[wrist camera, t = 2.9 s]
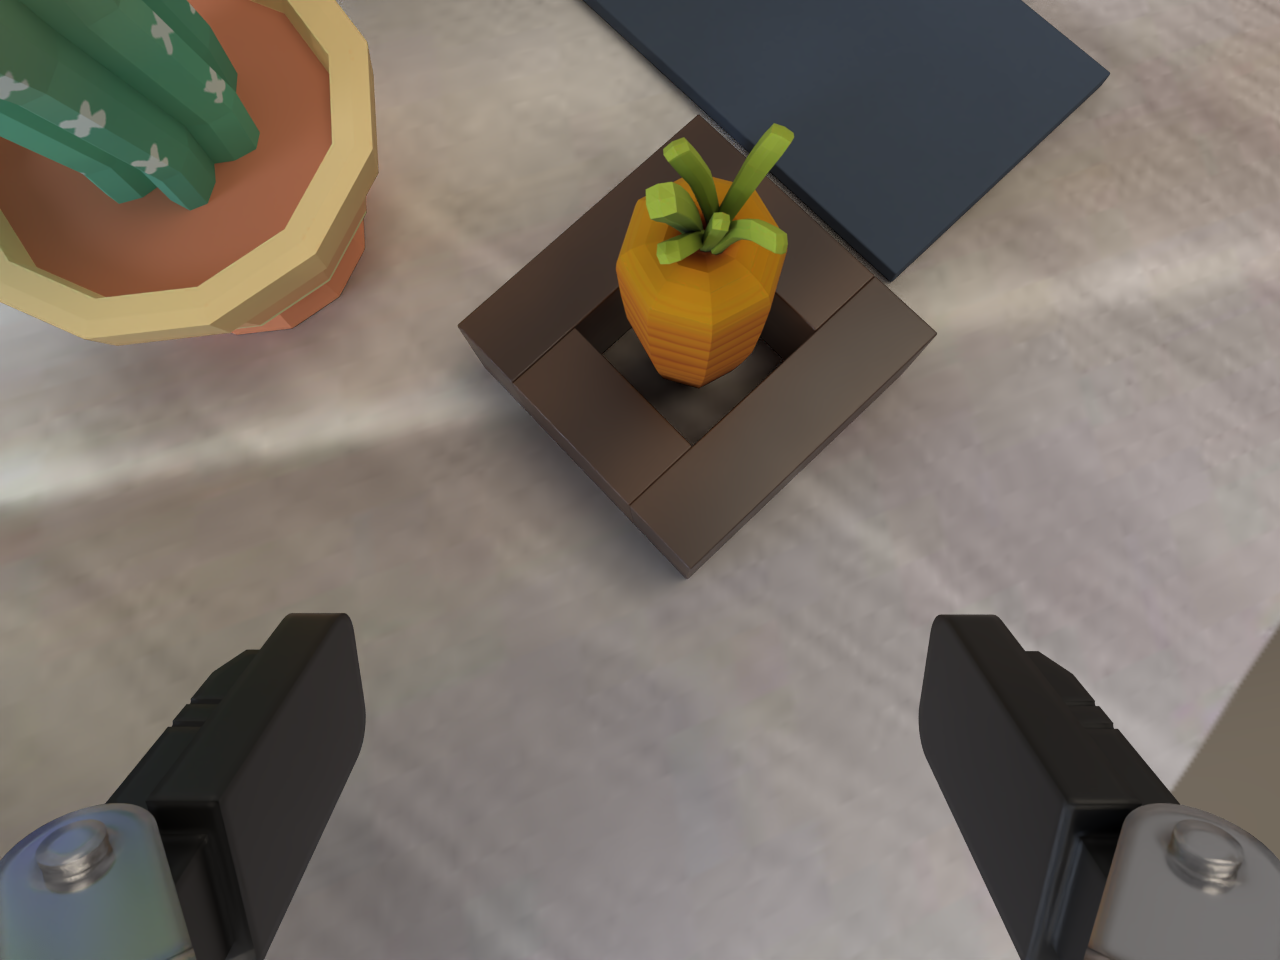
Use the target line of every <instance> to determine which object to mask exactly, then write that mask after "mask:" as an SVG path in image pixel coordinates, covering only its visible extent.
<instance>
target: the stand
mask: <svg viewBox="0 0 1280 960" xmlns="http://www.w3.org/2000/svg"><path fill="white" fill-rule="evenodd" d="M683 137H684V138H685V139H686V140H687V141H688V142H689V143H690V144H691V145H692V146H693V147H694V148H695V149H696V151H697V152H698V153H699V155H700V156H701V157H702V159H703V160H704V162H705V163H706V165H707V166H708V168H709V169H710V171H711V174H712V177H715V178H719V179H723V180H727V181H731V182H733V181H734V179H735V178H736V176H737V174H738V172H739V171H740V169H741V167H742V165H743V163H744V162H745V160H746V157H745V156H744V155H742V154H741V153H740V152H739V151H738V150H737V149H736V148H735V147H734V146H733V145H732V144H730V143H729V142H728V141H727V140H726V139H725V138H724V137H723V136H722V135H721V134H720V133H719V132H717V131H716V130H715V129H714V128H713V127H712V126H711V125H710V124H709V123H708V122H707V121H705V120H704V119H703V118H702V117H701V116H700V115H697V116H696V117H695V118H694V119H693V120H691V121H690V122H689V123H688V124H687V125H686V126H685V127H683V128H682V129H681V130H680V131H679V132H678V133H677V134H675V135H674V136H673V137H672V138H671V139H670V140H669V141H667V142H666V143H665V144H664V145H663V146H662V147H661V148H659V149H658V150H657V151H656V152H655V153H654V154H653V155H651V156H650V157H649V158H648V159H647V160H646V161H645V162H643V163H642V164H641V165H640V166H639V167H638V168H637V169H635V170H634V171H633V172H632V173H631V174H630V175H629V176H627V177H626V178H625V179H624V180H623V181H622V182H621V183H619V184H618V185H617V186H616V187H615V188H614V189H613V190H611V191H610V192H609V193H608V194H607V195H606V196H605V197H603V198H602V199H601V200H600V201H599V202H598V203H597V204H595V205H594V206H593V207H592V208H591V209H590V210H589V211H587V212H586V213H585V214H584V215H583V216H582V217H581V218H579V219H578V220H577V221H576V222H575V223H574V224H573V225H571V226H570V227H569V228H568V229H567V230H566V231H565V232H563V233H562V234H561V235H560V236H559V237H558V238H557V239H555V240H554V241H553V242H552V243H551V244H550V245H549V246H547V247H546V248H545V249H544V250H543V251H542V252H541V253H539V254H538V255H537V256H536V257H535V258H534V259H533V260H531V261H530V262H529V263H528V264H527V265H526V266H525V267H523V268H522V269H521V270H520V271H519V272H518V273H517V274H515V275H514V276H513V277H512V278H511V279H510V280H509V281H507V282H506V283H505V284H504V285H503V286H502V287H501V288H499V289H498V290H497V291H496V292H495V293H494V294H493V295H491V296H490V297H489V298H488V299H487V300H486V301H485V302H483V303H482V304H481V305H480V306H479V307H478V308H477V309H475V310H474V311H473V312H472V313H471V314H470V315H469V316H467V317H466V318H465V319H464V320H463V321H462V322H461V323H459V324H458V328H459V329H460V331H461V332H462V334H463V335H464V337H465V338H466V340H467V341H468V343H469V344H470V346H471V347H472V349H473V350H474V352H475V353H476V355H477V356H478V358H479V359H480V361H481V362H482V364H483V365H484V367H485V368H486V369H487V370H488V371H489V372H490V373H491V374H492V375H493V376H494V377H495V378H496V379H497V380H498V381H499V383H500V384H501V385H502V386H503V387H504V388H505V389H506V390H507V391H508V392H509V393H510V394H511V395H512V396H513V397H514V398H515V399H516V400H517V401H518V402H519V404H520V405H521V406H522V407H523V408H524V409H525V410H526V411H527V412H528V413H529V414H530V415H531V416H532V417H533V418H534V419H535V420H536V421H537V423H538V424H539V425H540V426H541V427H542V428H543V429H544V430H545V431H546V432H547V433H548V434H549V435H550V436H551V437H552V438H553V439H554V440H555V441H556V442H557V444H558V445H559V446H560V447H561V448H562V449H563V450H564V451H565V452H566V453H567V454H568V455H569V456H570V457H571V458H572V459H573V460H574V461H575V462H576V464H577V465H578V466H579V467H580V468H581V469H582V470H583V471H584V472H585V473H586V474H587V475H588V476H589V477H590V478H591V479H592V480H593V481H594V482H595V483H596V485H597V486H598V487H599V488H600V489H601V490H602V491H603V492H604V493H605V494H606V495H607V496H608V497H609V498H610V499H611V500H612V501H613V502H614V503H615V505H616V506H617V507H618V508H619V509H620V510H621V511H622V512H623V513H624V514H625V515H626V516H627V517H628V518H629V519H630V520H631V521H632V522H633V523H634V524H635V526H636V527H637V528H638V529H639V530H640V531H641V532H642V533H643V534H644V535H645V536H646V537H647V538H648V539H649V540H650V541H651V542H652V543H653V544H654V545H655V547H656V548H657V549H658V550H659V551H660V552H661V553H662V554H663V555H664V556H665V557H666V558H667V559H668V560H669V561H670V562H671V563H672V564H673V565H674V567H675V568H676V569H677V570H678V571H679V572H680V573H681V574H682V575H683V576H684V577H685V578H686V579H688V578H689V577H690V576H691V575H692V574H693V573H695V572H696V571H697V570H698V569H699V568H700V567H701V566H702V565H703V564H704V563H705V562H706V561H707V560H708V559H709V558H710V557H711V556H712V555H713V554H714V553H715V552H716V551H718V550H719V549H720V548H721V547H722V546H723V545H724V544H725V543H726V542H727V541H728V540H729V539H730V538H731V537H732V536H733V535H734V534H735V533H736V532H737V531H738V530H739V529H741V528H742V527H743V526H744V525H745V524H746V523H747V522H748V521H749V520H750V519H751V518H752V517H753V516H754V515H755V514H756V513H757V512H758V511H759V510H760V509H761V508H762V507H764V506H765V505H766V504H767V503H768V502H769V501H770V500H771V499H772V498H773V497H774V496H775V495H776V494H777V493H778V492H779V491H780V490H781V489H782V488H783V487H784V486H785V485H787V484H788V483H789V482H790V481H791V480H792V479H793V478H794V477H795V476H796V475H797V474H798V473H799V472H800V471H801V470H802V469H803V468H804V467H805V466H806V465H807V464H808V463H809V462H811V461H812V460H813V459H814V458H815V457H816V456H817V455H818V454H819V453H820V452H821V451H822V450H823V449H824V448H825V447H826V446H827V445H828V444H829V443H830V442H831V441H832V440H834V439H835V438H836V437H837V436H838V435H839V434H840V433H841V432H842V431H843V430H844V429H845V428H846V427H847V426H848V425H849V424H850V423H851V422H852V421H853V420H854V419H855V418H857V417H858V416H859V415H860V414H861V413H862V412H863V411H864V410H865V409H866V408H867V407H868V406H869V405H870V404H871V403H872V402H873V401H874V400H875V399H876V398H877V397H878V396H880V395H881V394H882V393H883V392H884V391H885V390H886V389H887V388H888V387H889V386H890V385H891V384H892V383H893V382H894V381H895V380H896V379H897V378H898V377H899V376H900V375H901V374H902V373H903V372H904V371H905V370H906V369H907V368H908V367H909V365H910V364H911V363H912V362H913V361H914V360H915V359H916V357H917V356H918V355H919V354H920V353H921V352H922V351H923V350H924V348H925V347H926V346H927V345H928V344H929V343H930V342H931V341H932V339H933V338H934V337H935V336H936V335H937V332H935V331H934V330H933V329H932V328H931V327H930V326H929V325H928V324H927V323H926V322H925V321H924V320H922V319H921V318H920V317H919V316H918V315H917V314H916V313H915V312H914V311H913V310H912V309H910V308H909V307H908V306H907V305H906V304H905V303H904V302H903V301H902V300H901V299H900V298H898V297H897V296H896V295H895V294H894V293H893V292H892V291H891V290H890V289H889V288H888V287H886V286H885V285H884V284H883V283H882V282H881V281H880V280H879V279H878V278H877V277H874V275H873V274H872V273H871V272H870V271H869V270H868V269H867V268H866V267H865V266H864V265H862V264H861V263H860V262H859V261H858V260H857V259H856V258H855V257H854V256H853V255H852V254H850V253H849V252H848V251H847V250H846V249H845V248H844V247H843V246H842V245H841V244H840V243H839V242H837V241H836V240H835V239H834V238H833V237H832V236H831V235H830V234H829V233H828V232H827V231H825V230H824V229H823V228H822V227H821V226H820V225H819V224H818V223H817V222H816V221H815V220H813V219H812V218H811V217H810V216H809V215H808V214H807V213H806V212H805V211H804V210H803V209H802V208H800V207H799V206H798V205H797V204H796V203H795V202H794V201H793V200H792V199H791V198H790V197H788V196H787V195H786V194H785V193H784V192H783V191H782V190H781V189H780V188H779V187H778V186H776V185H775V184H774V183H773V182H772V181H771V180H770V179H769V178H768V177H767V176H765V177H764V179H763V180H762V181H761V183H760V184H759V185H758V187H757V188H756V189H755V190H756V192H757V193H758V195H759V197H760V198H761V200H762V201H763V203H764V205H765V206H766V208H767V209H768V211H769V213H770V214H771V216H772V217H773V219H774V221H775V222H776V224H777V225H778V227H779V229H781V230H782V231H784V232H785V233H787V240H788V247H787V253H786V256H785V260H784V263H783V267H782V270H781V274H780V277H779V281H778V284H777V288H776V291H775V295H774V298H773V301H772V305H771V308H770V312H769V314H768V317H767V319H766V322H765V324H764V327H763V330H762V332H761V335H760V337H761V338H762V339H763V340H764V341H765V342H766V343H767V344H768V345H770V346H771V347H772V348H773V349H774V350H775V351H776V352H777V353H778V354H779V355H780V356H781V357H782V358H783V359H784V360H785V361H784V362H782V363H781V364H780V365H779V366H778V367H777V368H776V369H775V370H774V371H773V372H772V373H771V374H770V375H769V376H767V377H766V378H765V379H764V380H763V381H762V382H761V383H760V384H759V385H758V386H757V387H756V388H755V389H754V390H752V391H751V392H750V393H749V394H748V395H747V396H746V397H745V398H744V399H743V400H742V401H741V402H740V403H739V404H737V405H736V406H735V407H734V408H733V409H732V410H731V411H730V412H729V413H728V414H727V415H726V416H725V417H724V418H722V419H721V420H720V421H719V422H718V423H717V424H716V425H715V426H714V427H713V428H712V429H711V430H710V431H709V432H708V433H706V434H705V435H704V436H703V437H702V438H701V439H700V440H699V441H698V442H697V443H696V444H695V445H694V446H693V447H692V446H691V445H690V444H689V442H688V441H687V440H686V439H685V438H684V437H683V436H682V435H681V434H680V433H679V432H678V431H677V430H676V429H675V428H674V427H673V426H672V425H671V424H670V423H669V422H668V421H667V420H666V419H665V418H664V417H663V416H662V415H661V414H660V413H659V412H658V411H657V410H656V409H655V408H654V407H653V406H652V405H651V404H650V403H649V402H648V401H647V400H646V399H645V398H644V397H643V396H642V395H641V394H640V393H639V392H638V391H637V390H636V389H635V388H634V387H633V386H632V385H631V384H630V383H629V382H628V381H627V380H626V379H625V378H624V377H623V376H622V375H621V374H620V373H619V372H618V371H617V370H616V369H615V368H614V367H613V366H612V365H611V364H610V362H609V361H608V360H607V359H606V358H605V357H604V356H603V355H602V353H603V352H604V351H605V350H606V349H608V348H609V347H610V346H611V345H612V344H613V343H614V342H615V341H616V340H618V339H619V338H620V337H621V336H622V335H623V334H624V333H625V332H626V331H628V330H629V329H630V328H631V327H632V326H631V324H630V322H629V321H628V319H627V316H626V312H625V308H624V305H623V301H622V297H621V293H620V288H619V283H618V278H617V272H616V263H617V260H618V257H619V254H620V250H621V247H622V244H623V241H624V238H625V235H626V232H627V229H628V226H629V223H630V220H631V217H632V214H633V211H634V208H635V205H636V203H637V201H638V200H639V199H641V198H643V197H645V196H646V189H648V188H650V187H652V186H654V185H656V184H660V183H667V182H674V181H676V180H678V179H680V178H682V177H681V176H680V175H679V174H678V172H677V171H676V170H675V169H674V168H673V167H672V166H671V164H670V163H669V162H668V161H667V159H666V158H665V156H664V154H663V149H664V148H665V147H666V146H667V145H669V144H670V143H671V142H672V141H675V140H678V139H680V138H683Z"/></svg>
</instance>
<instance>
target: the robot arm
mask: <svg viewBox="0 0 1280 960" xmlns="http://www.w3.org/2000/svg"><path fill="white" fill-rule="evenodd" d="M365 718H366V714H365V703H364V696H363V689H362V683H361V676H360V669H359V662H358V656H357V649H356V642H355V636H354V629H353V625H352V622H351V619H350V617H349V616H348V615H347V614H345V613H291V614H288V615H287V616H286V617H285V618H284V619H283V620H282V621H281V623H280V624H279V625H278V627H277V628H276V629H275V631H274V632H273V633H272V635H271V636H270V637H269V638H268V640H267V641H266V642H265V644H264V645H263V646H262V648H261V649H260V650H245V651H244V652H242V653H241V654H239V655H238V656H236V657H235V658H233V659H232V660H230V661H229V662H227V663H226V664H224V665H223V666H221V667H220V668H218V669H217V670H215V671H214V672H212V674H211V675H210V676H209V677H208V679H207V680H206V681H205V682H204V683H203V685H202V686H201V687H200V688H199V690H198V691H197V692H196V693H195V694H194V696H193V697H192V698H191V703H190V704H186V706H185V707H184V708H183V709H182V710H181V712H180V713H179V714H178V715H177V717H176V718H175V719H174V720H173V725H172V727H168V728H167V729H166V730H165V731H164V732H163V734H162V735H161V736H160V737H159V739H158V740H157V741H156V742H155V743H154V745H153V746H152V747H151V748H150V750H149V751H148V752H147V753H146V754H145V756H144V757H143V758H142V759H141V761H140V762H139V763H138V764H137V765H136V767H135V768H134V769H133V770H132V772H131V773H130V774H129V775H128V776H127V778H126V779H125V780H124V781H123V783H122V784H121V785H120V786H119V787H118V789H117V790H116V791H115V792H114V794H113V795H112V796H111V797H110V798H109V800H108V801H107V802H106V803H105V804H102V805H96V806H92V807H87V808H83V809H80V810H77V811H74V812H71V813H69V814H66V815H64V816H62V817H59V818H57V819H55V820H53V821H51V822H49V823H47V824H45V825H43V826H41V827H40V828H38V829H37V830H35V831H34V832H32V833H30V834H29V835H28V836H26V837H25V838H24V839H22V840H21V841H20V842H18V843H17V844H16V845H15V846H14V847H13V848H12V849H11V850H10V851H9V852H8V853H7V854H6V855H5V856H4V857H3V858H2V860H1V861H0V960H264V958H265V956H266V954H267V952H268V949H269V947H270V945H271V943H272V941H273V939H274V936H275V934H276V932H277V930H278V928H279V926H280V924H281V921H282V919H283V917H284V915H285V913H286V911H287V908H288V906H289V904H290V902H291V900H292V898H293V896H294V893H295V891H296V889H297V887H298V885H299V883H300V880H301V878H302V876H303V874H304V872H305V870H306V868H307V865H308V863H309V861H310V859H311V857H312V855H313V852H314V850H315V848H316V846H317V844H318V842H319V840H320V837H321V835H322V833H323V831H324V829H325V827H326V824H327V822H328V820H329V818H330V816H331V814H332V812H333V809H334V807H335V805H336V803H337V801H338V799H339V796H340V794H341V792H342V790H343V788H344V786H345V784H346V781H347V779H348V777H349V775H350V773H351V771H352V769H353V766H354V764H355V762H356V760H357V758H358V755H359V753H360V750H361V747H362V743H363V738H364V732H365ZM919 732H920V739H921V744H922V748H923V751H924V754H925V756H926V759H927V761H928V763H929V765H930V767H931V769H932V772H933V774H934V776H935V778H936V780H937V782H938V784H939V787H940V789H941V791H942V793H943V795H944V797H945V799H946V801H947V804H948V806H949V808H950V810H951V812H952V814H953V816H954V818H955V821H956V823H957V825H958V827H959V829H960V831H961V833H962V835H963V838H964V840H965V842H966V844H967V846H968V848H969V850H970V852H971V855H972V857H973V859H974V861H975V863H976V865H977V867H978V869H979V872H980V874H981V876H982V878H983V880H984V882H985V884H986V886H987V889H988V891H989V893H990V895H991V897H992V899H993V901H994V903H995V906H996V908H997V910H998V912H999V914H1000V916H1001V918H1002V921H1003V923H1004V925H1005V927H1006V929H1007V931H1008V933H1009V935H1010V938H1011V940H1012V942H1013V944H1014V946H1015V948H1016V950H1017V952H1018V955H1019V957H1020V959H1021V960H1280V861H1279V860H1278V858H1277V857H1276V856H1275V855H1274V854H1273V853H1272V852H1271V851H1270V850H1269V849H1268V848H1267V847H1266V846H1265V845H1264V844H1263V843H1262V842H1260V841H1259V840H1258V839H1256V838H1255V837H1254V836H1252V835H1251V834H1250V833H1248V832H1246V831H1245V830H1243V829H1242V828H1240V827H1238V826H1237V825H1235V824H1233V823H1231V822H1229V821H1227V820H1225V819H1223V818H1221V817H1218V816H1216V815H1214V814H1211V813H1209V812H1206V811H1203V810H1200V809H1197V808H1192V807H1188V806H1184V805H1180V804H1179V802H1178V801H1177V800H1176V799H1175V797H1174V796H1173V795H1172V794H1171V793H1170V791H1169V790H1168V789H1167V788H1166V787H1165V785H1164V784H1163V783H1162V782H1161V781H1160V779H1159V778H1158V777H1157V776H1156V774H1155V773H1154V772H1153V771H1152V770H1151V768H1150V767H1149V766H1148V765H1147V764H1146V762H1145V761H1144V760H1143V759H1142V757H1141V756H1140V755H1139V754H1138V753H1137V751H1136V750H1135V749H1134V748H1133V747H1132V745H1131V744H1130V743H1129V742H1128V741H1127V739H1126V738H1125V737H1124V736H1123V734H1122V733H1121V732H1120V731H1119V730H1118V729H1114V727H1113V722H1112V721H1111V720H1110V719H1109V717H1108V716H1107V715H1106V714H1105V713H1104V711H1103V710H1102V709H1101V708H1100V707H1099V706H1095V701H1094V699H1093V698H1092V697H1091V696H1090V694H1089V693H1088V692H1087V691H1086V690H1085V688H1084V687H1083V686H1082V685H1081V684H1080V682H1079V681H1078V680H1077V679H1076V677H1075V676H1074V675H1073V674H1072V673H1070V672H1069V671H1067V670H1066V669H1064V668H1063V667H1061V666H1060V665H1058V664H1057V663H1055V662H1054V661H1052V660H1051V659H1049V658H1048V657H1046V656H1045V655H1043V654H1042V653H1040V652H1039V651H1025V650H1024V649H1023V648H1022V646H1021V645H1020V644H1019V643H1018V641H1017V640H1016V639H1015V637H1014V636H1013V635H1012V633H1011V632H1010V631H1009V630H1008V628H1007V627H1006V626H1005V624H1004V623H1003V622H1002V620H1001V619H1000V618H999V617H997V616H996V615H938V616H937V617H936V618H935V620H934V622H933V624H932V628H931V633H930V639H929V646H928V653H927V659H926V666H925V672H924V679H923V686H922V692H921V699H920V705H919Z"/></svg>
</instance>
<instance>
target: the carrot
mask: <svg viewBox="0 0 1280 960" xmlns="http://www.w3.org/2000/svg"><path fill="white" fill-rule="evenodd" d="M793 138H794V133H793V132H792V131H790V130H789V129H787V128H786V127H785V126H781V125H778V124H775V123H774V124H773V125H772V126H771V127H770V128H769V129H768V130H767V131H766V132H765V133H764V134H763V136H762V137H761V138H760V140H759V141H758V142H757V144H756V145H755V147H754V148H753V149H752V151H751V152H750V153H749V155H748V156H747V158H746V160H745V162H744V163H743V165H742V167H741V169H740V171H739V172H738V174H737V176H736V178H735V179H734V181H733V182H731V181H727V180H723V179H719V178H715V177H712V174H711V171H710V169H709V168H708V166H707V165H706V163H705V162H704V160H703V159H702V157H701V156H700V155H699V153H698V152H697V151H696V149H695V148H694V147H693V146H692V145H691V144H690V143H689V142H688V141H687V140H686V139H685V138H684V137H683V138H680V139H678V140H675V141H672V142H671V143H670V144H669V145H667V146H666V147H665V148H664V149H663V154H664V156H665V158H666V159H667V161H668V162H669V163H670V164H671V166H672V167H673V168H674V169H675V170H676V171H677V172H678V174H679V175H680V176H681V177H682V178H680V179H678V180H676V181H674V182H667V183H660V184H656V185H654V186H652V187H650V188H648V189H646V196H645V197H643V198H641V199H639V200H638V201H637V203H636V205H635V208H634V211H633V214H632V217H631V220H630V223H629V226H628V229H627V232H626V235H625V238H624V241H623V244H622V247H621V250H620V254H619V257H618V260H617V263H616V272H617V278H618V283H619V288H620V293H621V297H622V301H623V305H624V308H625V312H626V316H627V319H628V321H629V322H630V324H631V326H632V328H633V329H634V331H635V333H636V335H637V336H638V338H639V340H640V342H641V343H642V345H643V347H644V349H645V350H646V352H647V354H648V356H649V358H650V359H651V361H652V363H653V365H654V366H655V368H656V370H657V371H658V373H659V374H660V375H661V376H662V377H663V378H664V379H668V380H671V381H675V382H678V383H682V384H685V385H689V386H693V387H696V388H701V387H702V386H704V385H706V384H708V383H710V382H712V381H714V380H716V379H718V378H720V377H721V376H723V375H725V374H727V373H729V372H731V371H732V370H734V369H735V368H736V367H737V366H739V365H740V364H741V363H742V362H743V361H744V360H745V359H746V358H747V357H748V356H749V355H750V354H751V353H752V351H753V349H754V347H755V345H756V343H757V341H758V339H759V337H760V335H761V332H762V330H763V327H764V324H765V322H766V319H767V317H768V314H769V312H770V308H771V305H772V301H773V298H774V295H775V291H776V288H777V284H778V281H779V277H780V274H781V270H782V267H783V263H784V260H785V256H786V253H787V247H788V240H787V233H785V232H784V231H782V230H781V229H779V227H778V225H777V224H776V222H775V221H774V219H773V217H772V216H771V214H770V213H769V211H768V209H767V208H766V206H765V205H764V203H763V201H762V200H761V198H760V197H759V195H758V193H757V192H756V190H755V189H756V188H757V187H758V185H759V184H760V183H761V181H762V180H763V179H764V177H765V176H766V175H767V173H768V172H769V171H770V169H771V168H772V167H773V166H774V165H775V163H776V162H777V161H778V160H779V158H780V157H781V156H782V155H783V153H784V152H785V151H786V149H787V148H788V146H789V145H790V144H791V142H792V140H793Z"/></svg>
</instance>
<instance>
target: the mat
mask: <svg viewBox="0 0 1280 960" xmlns="http://www.w3.org/2000/svg"><path fill="white" fill-rule="evenodd" d="M584 1H585V2H586V3H587V4H588V5H589V6H590V7H591V8H592V9H593V10H594V11H596V12H597V13H598V14H599V15H600V16H601V17H602V18H603V19H604V20H605V21H606V22H608V23H609V24H610V25H611V26H612V27H613V28H614V29H615V30H616V31H617V32H618V33H620V34H621V35H622V36H623V37H624V38H625V39H626V40H627V41H628V42H629V43H630V44H632V45H633V46H634V47H635V48H636V49H637V50H638V51H639V52H640V53H641V54H642V55H644V56H645V57H646V58H647V59H648V60H649V61H650V62H651V63H652V64H653V65H654V66H656V67H657V68H658V69H659V70H660V71H661V72H662V73H663V74H664V75H665V76H666V77H668V78H669V79H670V80H671V81H672V82H673V83H674V84H675V85H676V86H677V87H678V88H680V89H681V90H682V91H683V92H684V93H685V94H686V95H687V96H688V97H689V98H690V99H692V100H693V101H694V102H695V103H696V104H697V105H698V106H699V107H700V108H701V109H702V110H704V111H705V112H706V113H707V114H708V115H709V116H710V117H711V118H712V119H713V120H714V121H716V122H717V123H718V124H719V125H720V126H721V127H722V128H723V129H724V130H725V131H726V132H728V133H729V134H730V135H731V136H732V137H733V138H734V139H735V140H736V141H737V142H738V143H740V144H741V145H742V146H743V147H744V148H745V149H746V150H747V151H748V152H749V153H750V152H751V151H752V149H753V148H754V147H755V145H756V144H757V142H758V141H759V140H760V138H761V137H762V136H763V134H764V133H765V132H766V131H767V130H768V129H769V128H770V127H771V126H772V125H773V124H774V123H775V124H778V125H781V126H785V127H786V128H787V129H789V130H790V131H792V132H793V133H794V138H793V140H792V142H791V144H790V145H789V146H788V148H787V149H786V151H785V152H784V153H783V155H782V156H781V157H780V158H779V160H778V161H777V162H776V163H775V165H774V166H773V167H772V168H771V169H770V172H771V173H772V174H773V175H774V176H776V177H777V178H778V179H779V180H780V181H781V182H782V183H783V184H784V185H785V186H786V187H788V188H789V189H790V190H791V191H792V192H793V193H794V194H795V195H796V196H797V197H798V198H800V199H801V200H802V201H803V202H804V203H805V204H806V205H807V206H808V207H809V208H810V209H812V210H813V211H814V212H815V213H816V214H817V215H818V216H819V217H820V218H821V219H822V220H824V221H825V222H826V223H827V224H828V225H829V226H830V227H831V228H832V229H833V230H834V231H836V232H837V233H838V234H839V235H840V236H841V237H842V238H843V239H844V240H845V241H846V242H848V243H849V244H850V245H851V246H852V247H853V248H854V249H855V250H856V251H857V252H858V253H860V254H861V255H862V256H863V257H864V258H865V259H866V260H867V261H868V262H869V263H870V264H872V265H873V266H874V267H875V268H876V269H877V270H878V271H879V272H880V273H881V274H882V275H884V276H885V277H886V278H887V279H888V280H889V281H890V282H892V281H893V280H894V279H895V278H896V277H897V276H899V275H900V274H901V273H902V272H903V271H904V270H905V269H906V268H907V267H908V266H909V265H910V264H911V263H912V262H913V261H915V260H916V259H917V258H918V257H919V256H920V255H921V254H922V253H923V252H924V251H925V250H926V249H927V248H928V247H929V246H931V245H932V244H933V243H934V242H935V241H936V240H937V239H938V238H939V237H940V236H941V235H942V234H943V233H944V232H945V231H947V230H948V229H949V228H950V227H951V226H952V225H953V224H954V223H955V222H956V221H957V220H958V219H959V218H960V217H961V216H963V215H964V214H965V213H966V212H967V211H968V210H969V209H970V208H971V207H972V206H973V205H974V204H975V203H976V202H977V201H979V200H980V199H981V198H982V197H983V196H984V195H985V194H986V193H987V192H988V191H989V190H990V189H991V188H992V187H993V186H995V185H996V184H997V183H998V182H999V181H1000V180H1001V179H1002V178H1003V177H1004V176H1005V175H1006V174H1007V173H1008V172H1009V171H1011V170H1012V169H1013V168H1014V167H1015V166H1016V165H1017V164H1018V163H1019V162H1020V161H1021V160H1022V159H1023V158H1024V157H1025V156H1026V155H1028V154H1029V153H1030V152H1031V151H1032V150H1033V149H1034V148H1035V147H1036V146H1037V145H1038V144H1039V143H1040V142H1041V141H1042V140H1044V139H1045V138H1046V137H1047V136H1048V135H1049V134H1050V133H1051V132H1052V131H1053V130H1054V129H1055V128H1056V127H1057V126H1058V125H1060V124H1061V123H1062V122H1063V121H1064V120H1065V119H1066V118H1067V117H1068V116H1069V115H1070V114H1071V113H1072V112H1073V111H1074V110H1076V109H1077V108H1078V107H1079V106H1080V105H1081V104H1082V103H1083V102H1084V101H1085V100H1086V99H1087V98H1088V97H1089V96H1090V95H1092V94H1093V93H1094V92H1095V91H1096V90H1097V89H1098V88H1099V87H1100V86H1101V85H1102V84H1103V83H1104V81H1105V80H1106V79H1107V77H1108V76H1109V75H1110V72H1109V71H1107V70H1106V69H1105V68H1104V67H1102V66H1101V65H1100V64H1099V63H1098V62H1096V61H1095V60H1094V59H1093V58H1091V57H1090V56H1089V55H1088V54H1086V53H1085V52H1084V51H1083V50H1082V49H1080V48H1079V47H1078V46H1077V45H1075V44H1074V43H1073V42H1072V41H1071V40H1069V39H1068V38H1067V37H1066V36H1064V35H1063V34H1062V33H1061V32H1059V31H1058V30H1057V29H1056V28H1055V27H1053V26H1052V25H1051V24H1050V23H1048V22H1047V21H1046V20H1045V19H1044V18H1042V17H1041V16H1040V15H1039V14H1037V13H1036V12H1035V11H1034V10H1032V9H1031V8H1030V7H1029V6H1028V5H1026V4H1025V3H1024V2H1023V1H1021V0H584Z"/></svg>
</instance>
